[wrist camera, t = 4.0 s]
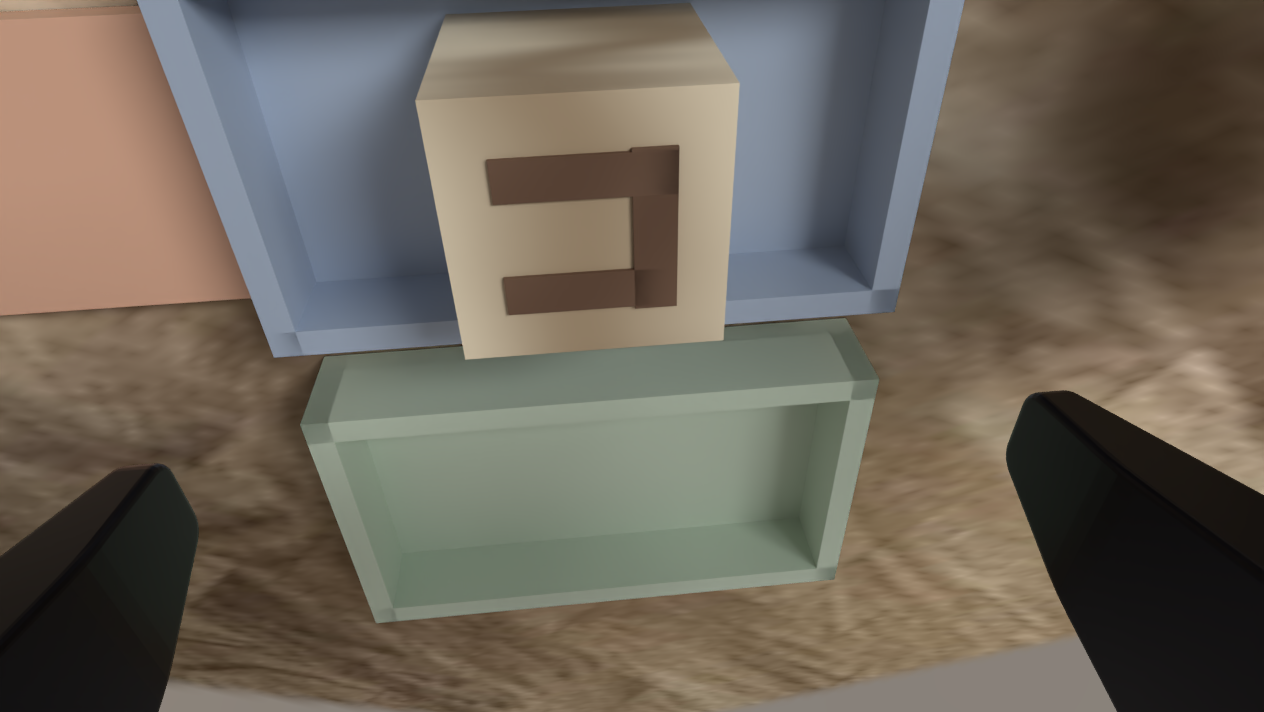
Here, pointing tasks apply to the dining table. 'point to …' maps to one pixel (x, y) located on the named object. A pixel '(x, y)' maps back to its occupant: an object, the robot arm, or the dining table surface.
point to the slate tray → (400, 181)
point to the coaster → (100, 172)
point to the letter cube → (582, 176)
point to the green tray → (592, 468)
